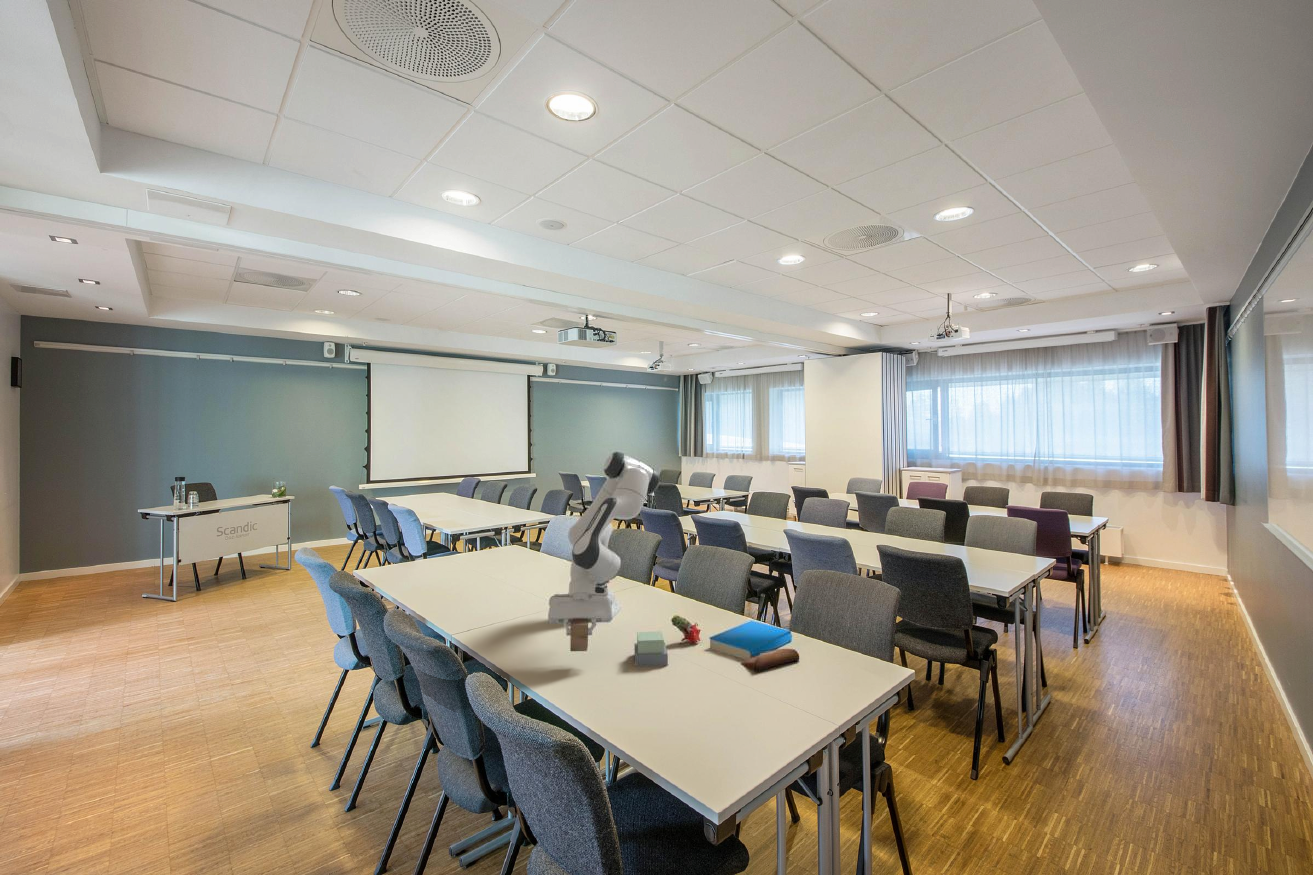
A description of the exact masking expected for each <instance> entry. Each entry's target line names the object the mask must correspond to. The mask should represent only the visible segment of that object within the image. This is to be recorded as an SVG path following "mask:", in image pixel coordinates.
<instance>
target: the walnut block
mask: <svg viewBox="0 0 1313 875" xmlns="http://www.w3.org/2000/svg"><path fill="white" fill-rule="evenodd" d="M570 628H571V635H570V639H569V640H570V642H569V644H570V646H569V648H570V652H587V651H588V646H589V635H587V631H588V630H587V629H588V628H589V623H588V620H572V622H571V623H570Z"/></svg>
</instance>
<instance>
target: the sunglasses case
mask: <svg viewBox="0 0 1313 875" xmlns="http://www.w3.org/2000/svg"><path fill="white" fill-rule="evenodd" d="M799 660H800V654H799V652H798V651H797V650H796V649H793V648H776V649H773V650H771V651H769V652H765V653H760V655H758V656H755V657H752V658H750V659H747V660H745V659H744V660H743V661H741V662H740V665H741V666H743V667H745V668H747V669H748V670H749V671H751V672H753V673H759V672H761V671H764V670H767V669H771V668H772V667H776V666H780V665H783V664H788V663H791V662H795V661H797V662H798V661H799Z"/></svg>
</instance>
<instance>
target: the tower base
mask: <svg viewBox="0 0 1313 875" xmlns="http://www.w3.org/2000/svg"><path fill="white" fill-rule="evenodd" d="M634 662H635V667H662V666H669V653H668V649H667V646H666V643H665V641H664V653H644V654H638V647H637V642H635V643H634Z"/></svg>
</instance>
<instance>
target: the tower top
mask: <svg viewBox="0 0 1313 875" xmlns="http://www.w3.org/2000/svg"><path fill="white" fill-rule="evenodd" d="M636 638H637V639H636V640H637V641H636V643H637V647H638V654H644V653H664V642H665V640H664V636H663V632H662V631H660V630H659V631H637V632H636Z"/></svg>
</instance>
